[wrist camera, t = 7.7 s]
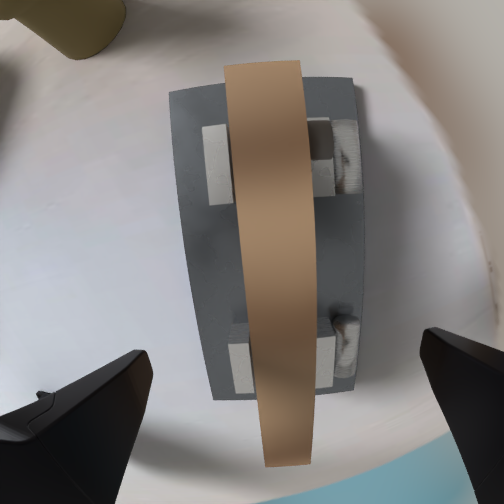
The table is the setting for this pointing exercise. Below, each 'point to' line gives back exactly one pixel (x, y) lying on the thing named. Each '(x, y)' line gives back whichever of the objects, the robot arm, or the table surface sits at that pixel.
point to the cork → (69, 22)
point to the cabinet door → (278, 245)
